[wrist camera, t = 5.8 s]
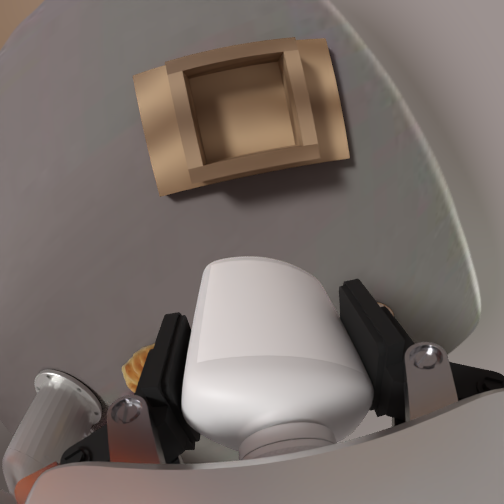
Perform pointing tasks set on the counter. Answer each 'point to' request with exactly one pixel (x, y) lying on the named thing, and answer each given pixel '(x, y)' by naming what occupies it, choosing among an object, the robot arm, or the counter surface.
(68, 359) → the counter surface
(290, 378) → the eye dropper bottle
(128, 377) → the pastry
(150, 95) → the holder stand
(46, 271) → the counter surface
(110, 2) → the counter surface
